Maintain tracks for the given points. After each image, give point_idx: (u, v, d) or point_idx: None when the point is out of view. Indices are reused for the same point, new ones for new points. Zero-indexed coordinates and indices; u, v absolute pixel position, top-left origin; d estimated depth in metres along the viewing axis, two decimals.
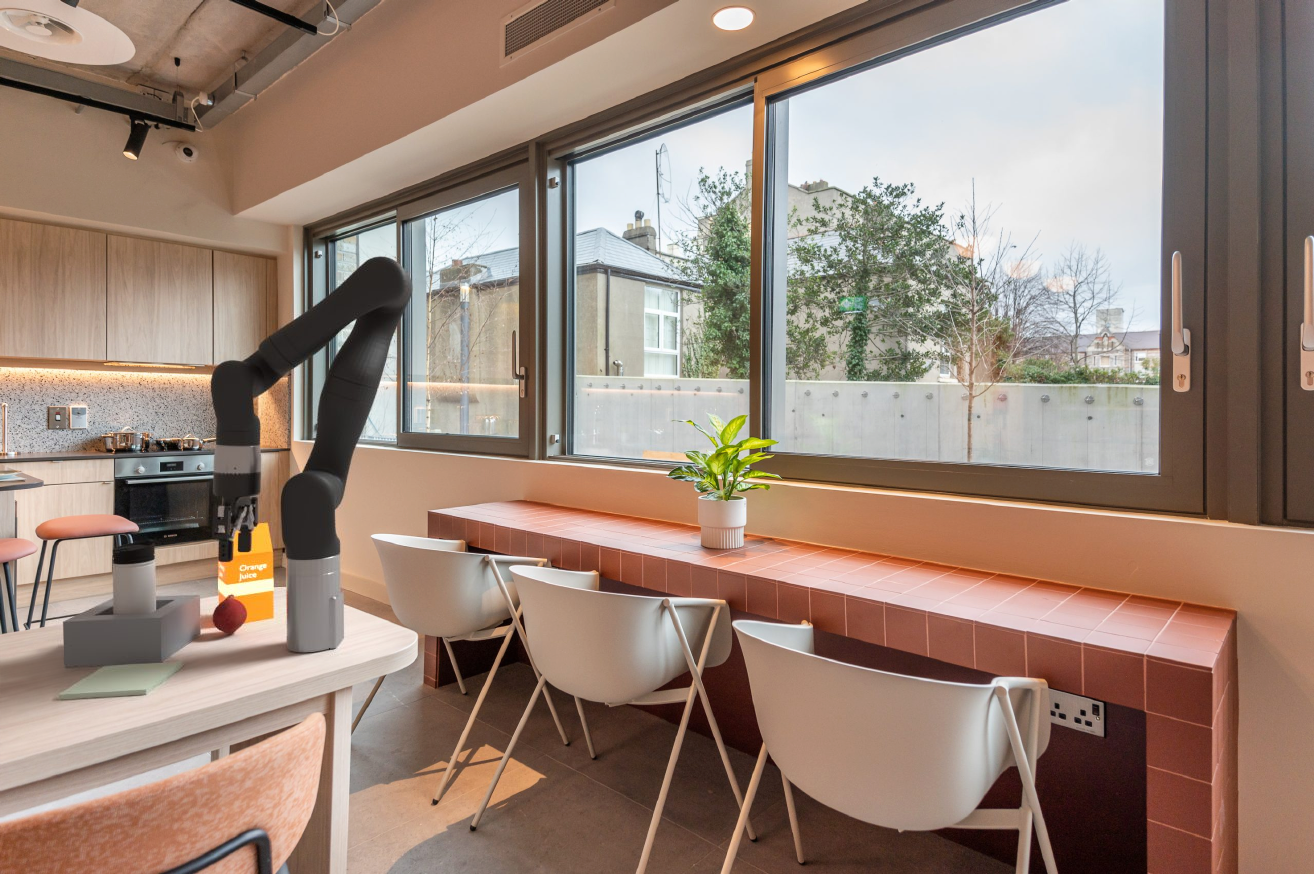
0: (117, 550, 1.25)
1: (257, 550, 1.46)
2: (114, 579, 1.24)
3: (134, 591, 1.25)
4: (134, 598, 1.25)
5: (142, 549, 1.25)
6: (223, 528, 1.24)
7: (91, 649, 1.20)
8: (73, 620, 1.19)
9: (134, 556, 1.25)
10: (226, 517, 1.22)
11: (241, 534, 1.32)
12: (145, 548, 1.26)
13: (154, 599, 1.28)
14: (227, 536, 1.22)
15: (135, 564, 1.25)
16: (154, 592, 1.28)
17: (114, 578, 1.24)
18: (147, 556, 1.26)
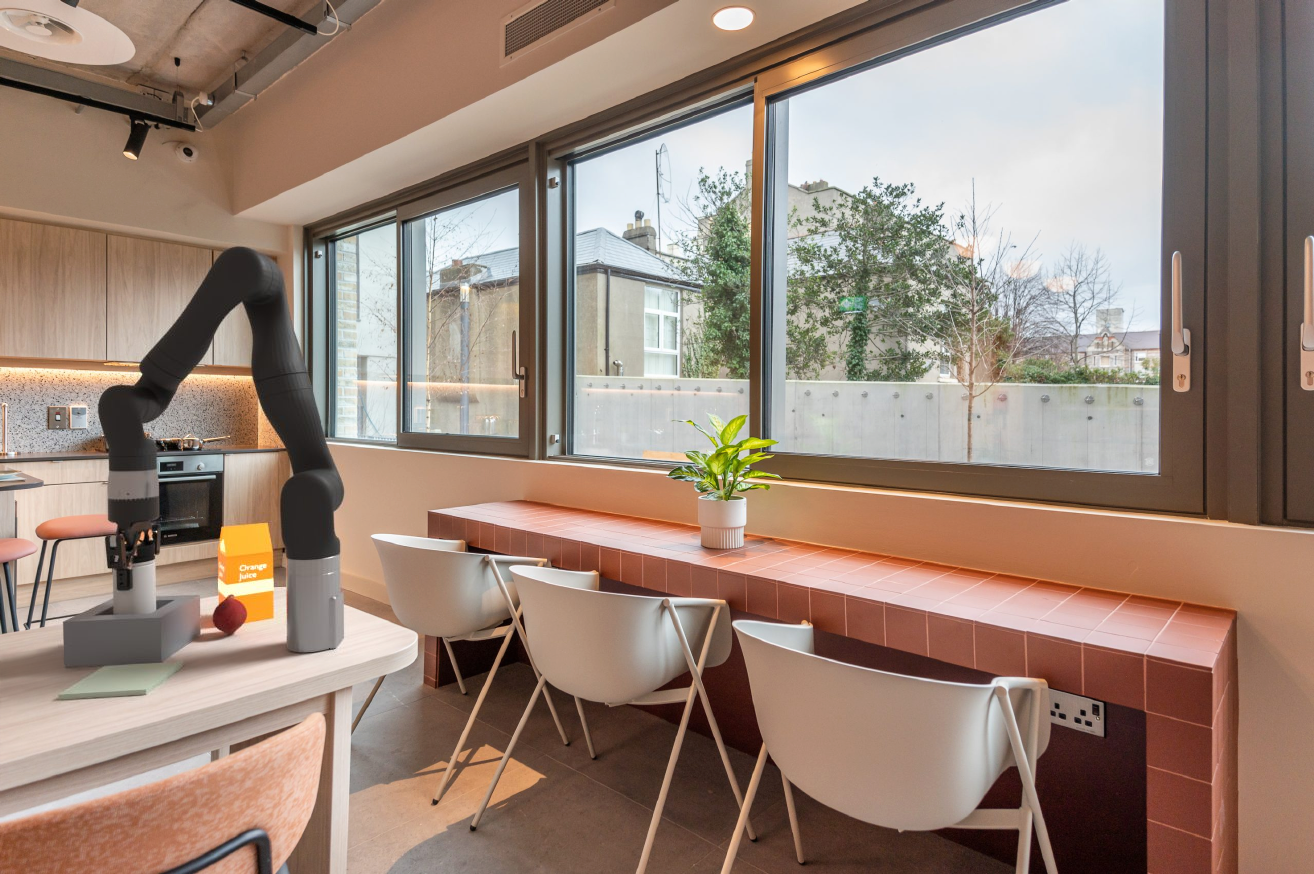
0: None
1: (257, 550, 1.46)
2: (114, 579, 1.24)
3: (134, 591, 1.25)
4: (134, 598, 1.25)
5: (142, 549, 1.25)
6: None
7: (91, 649, 1.20)
8: (73, 620, 1.19)
9: None
10: (119, 547, 1.21)
11: None
12: (145, 548, 1.26)
13: (154, 599, 1.28)
14: (123, 565, 1.21)
15: (135, 564, 1.25)
16: (154, 592, 1.28)
17: (114, 578, 1.24)
18: (147, 556, 1.26)
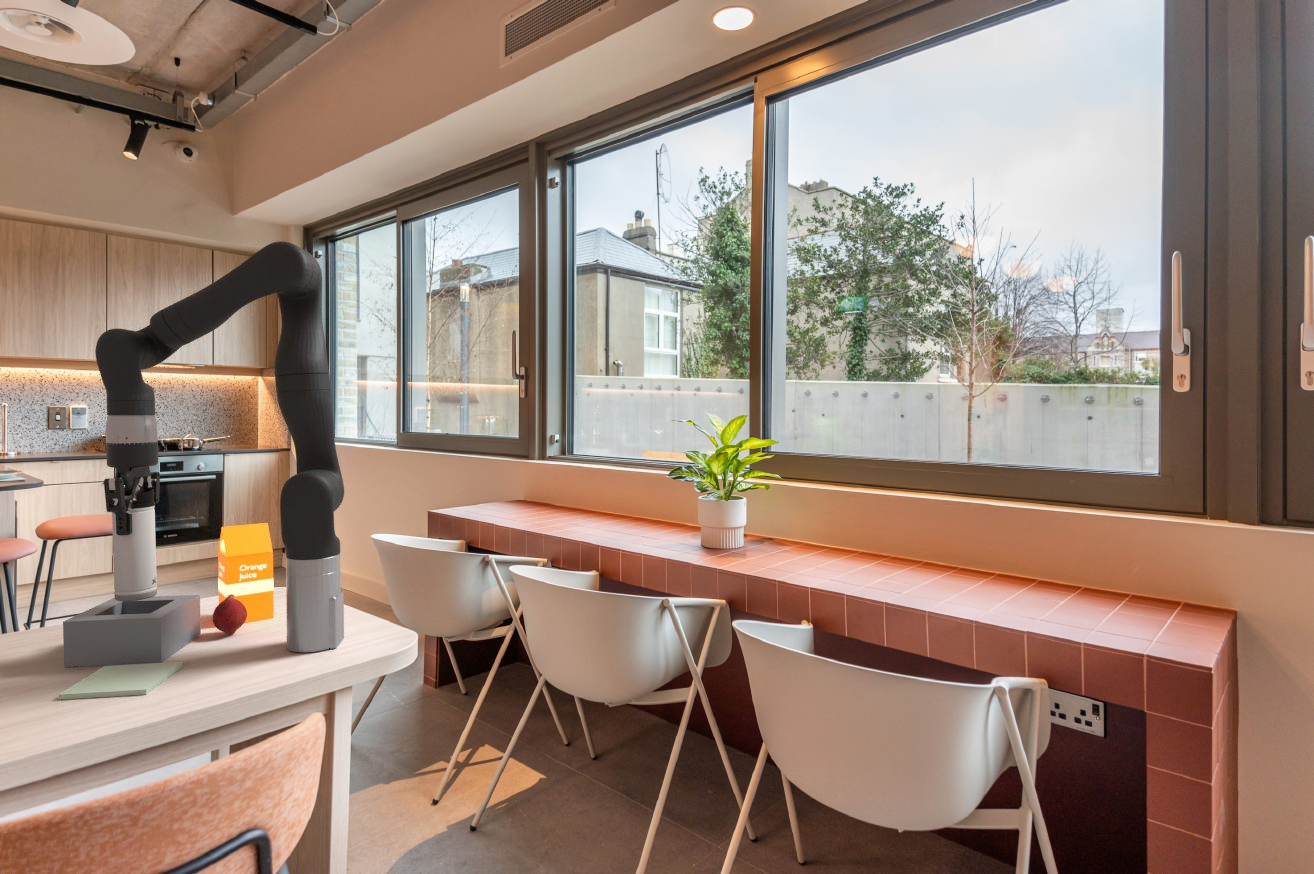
0: None
1: (257, 550, 1.46)
2: (113, 524, 1.24)
3: (133, 536, 1.24)
4: (133, 543, 1.24)
5: (141, 494, 1.25)
6: None
7: (91, 649, 1.20)
8: (73, 620, 1.19)
9: None
10: (118, 490, 1.20)
11: None
12: (144, 493, 1.26)
13: (154, 545, 1.28)
14: (122, 508, 1.21)
15: (134, 509, 1.24)
16: (154, 538, 1.28)
17: (113, 523, 1.24)
18: (146, 502, 1.26)
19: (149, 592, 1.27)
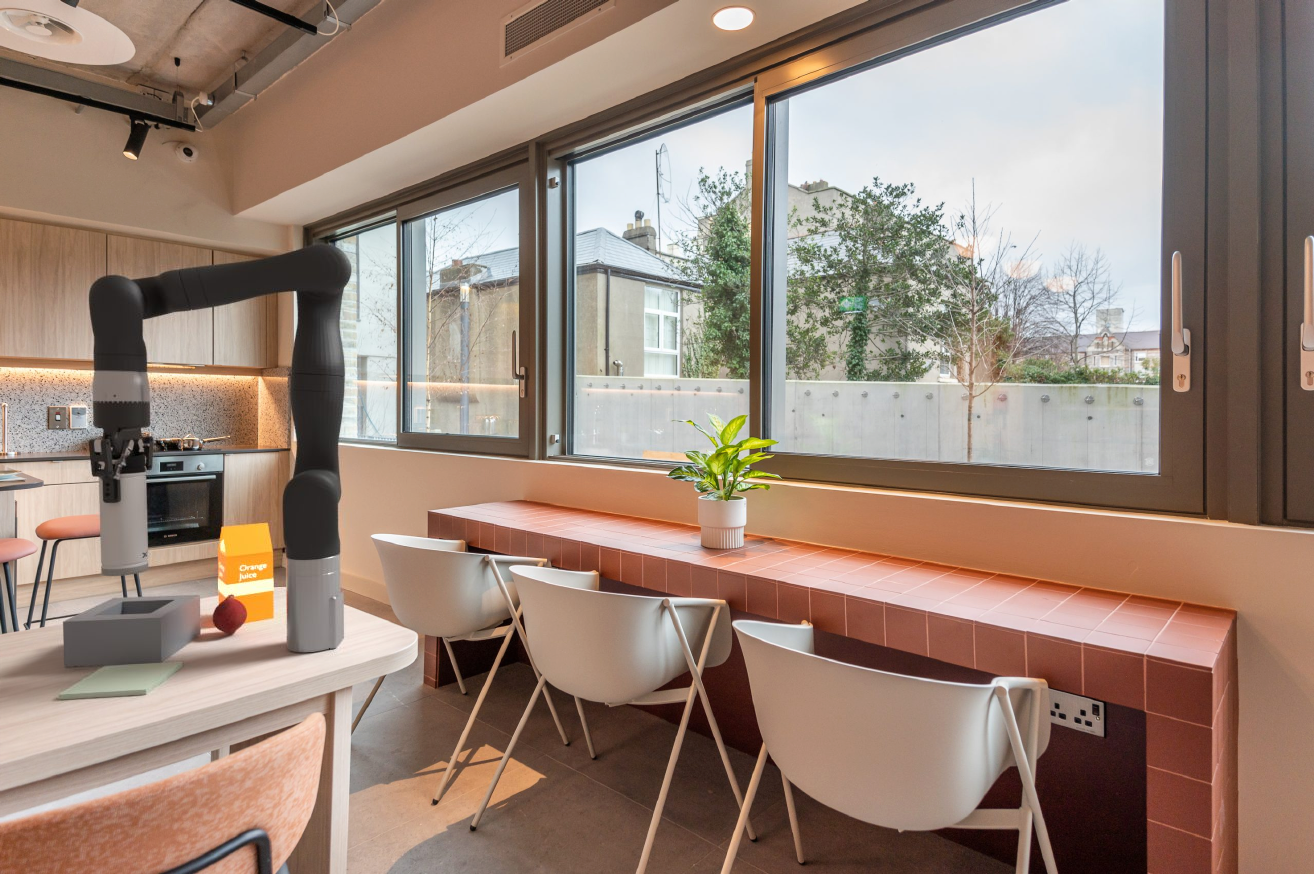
0: None
1: (257, 550, 1.46)
2: (100, 491, 1.13)
3: (122, 505, 1.13)
4: (122, 512, 1.13)
5: (131, 458, 1.14)
6: None
7: (91, 649, 1.20)
8: (73, 620, 1.19)
9: None
10: (105, 452, 1.09)
11: None
12: (134, 458, 1.14)
13: (145, 516, 1.16)
14: (109, 473, 1.09)
15: (123, 475, 1.13)
16: (145, 508, 1.16)
17: (100, 490, 1.13)
18: (136, 467, 1.14)
19: (139, 567, 1.15)
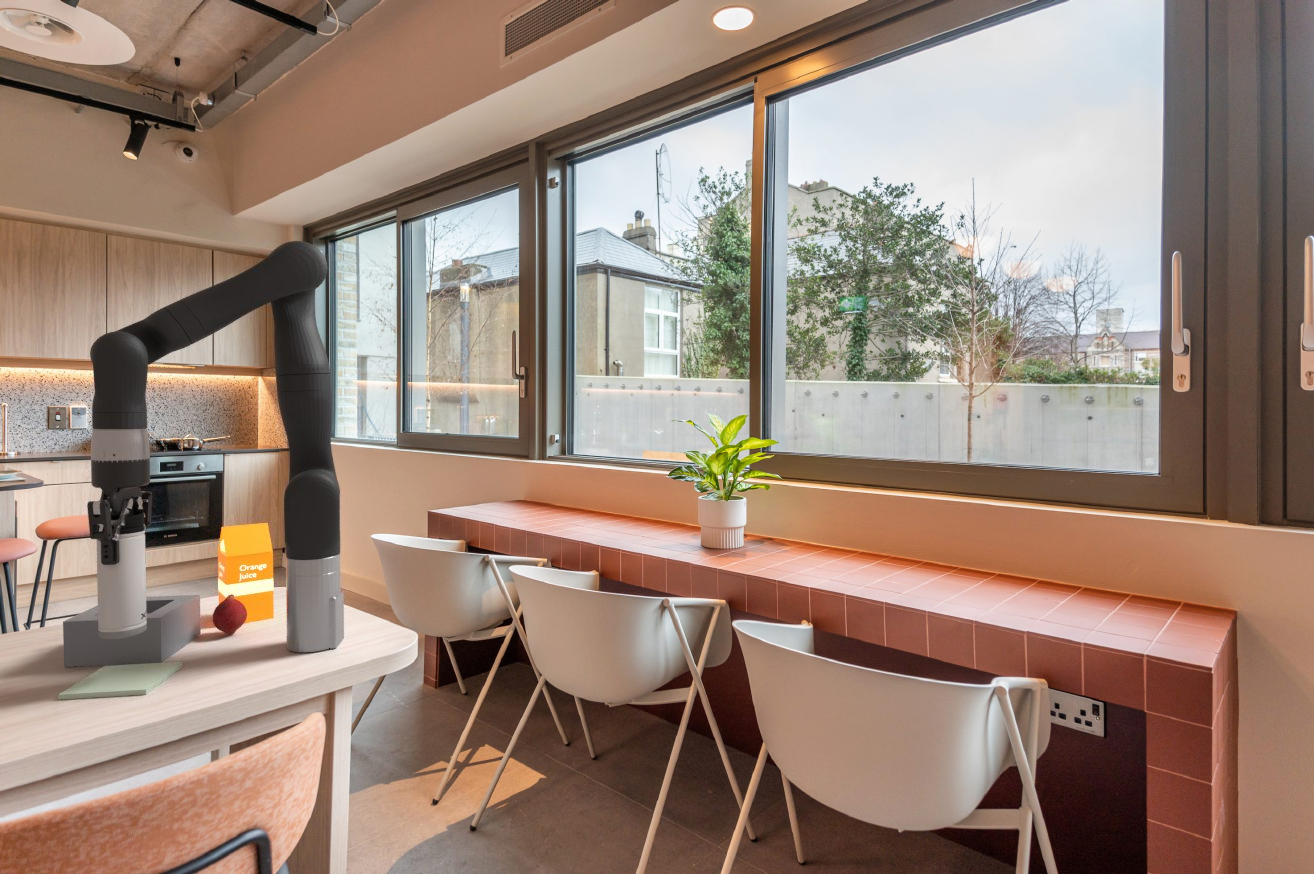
0: None
1: (257, 550, 1.46)
2: (98, 552, 1.10)
3: (120, 566, 1.10)
4: (120, 574, 1.10)
5: (130, 518, 1.11)
6: None
7: (91, 649, 1.20)
8: (73, 620, 1.19)
9: None
10: (104, 515, 1.06)
11: None
12: (133, 517, 1.11)
13: (144, 575, 1.13)
14: (108, 535, 1.07)
15: (122, 535, 1.10)
16: (144, 567, 1.13)
17: (98, 551, 1.10)
18: (135, 527, 1.12)
19: (137, 629, 1.12)
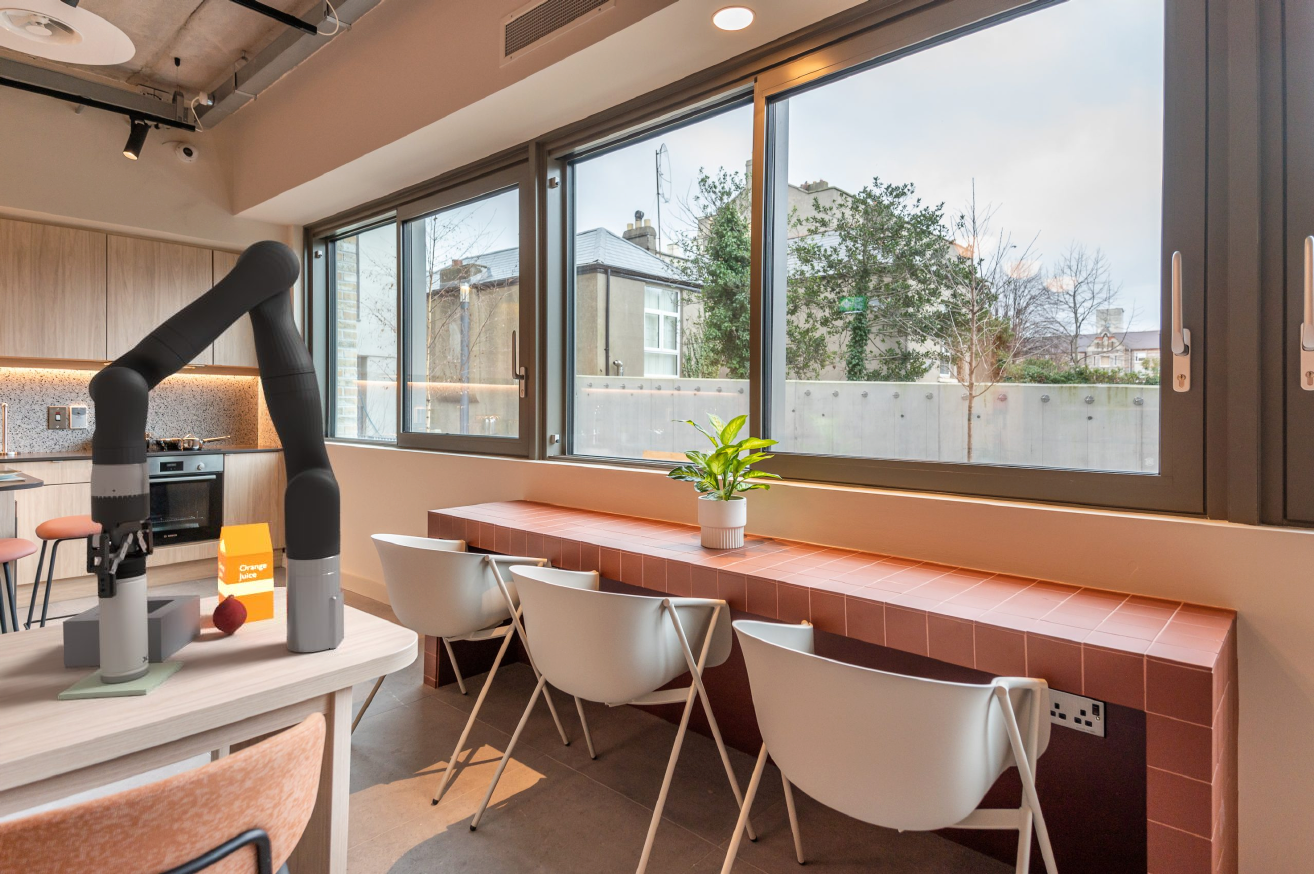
0: None
1: (257, 550, 1.46)
2: None
3: (122, 610, 1.10)
4: (122, 618, 1.11)
5: (132, 562, 1.11)
6: None
7: (91, 649, 1.20)
8: (73, 620, 1.19)
9: (122, 571, 1.10)
10: (102, 547, 1.06)
11: None
12: (135, 561, 1.12)
13: (145, 618, 1.14)
14: (105, 569, 1.06)
15: (124, 580, 1.10)
16: (145, 611, 1.14)
17: None
18: (137, 571, 1.12)
19: (139, 672, 1.13)
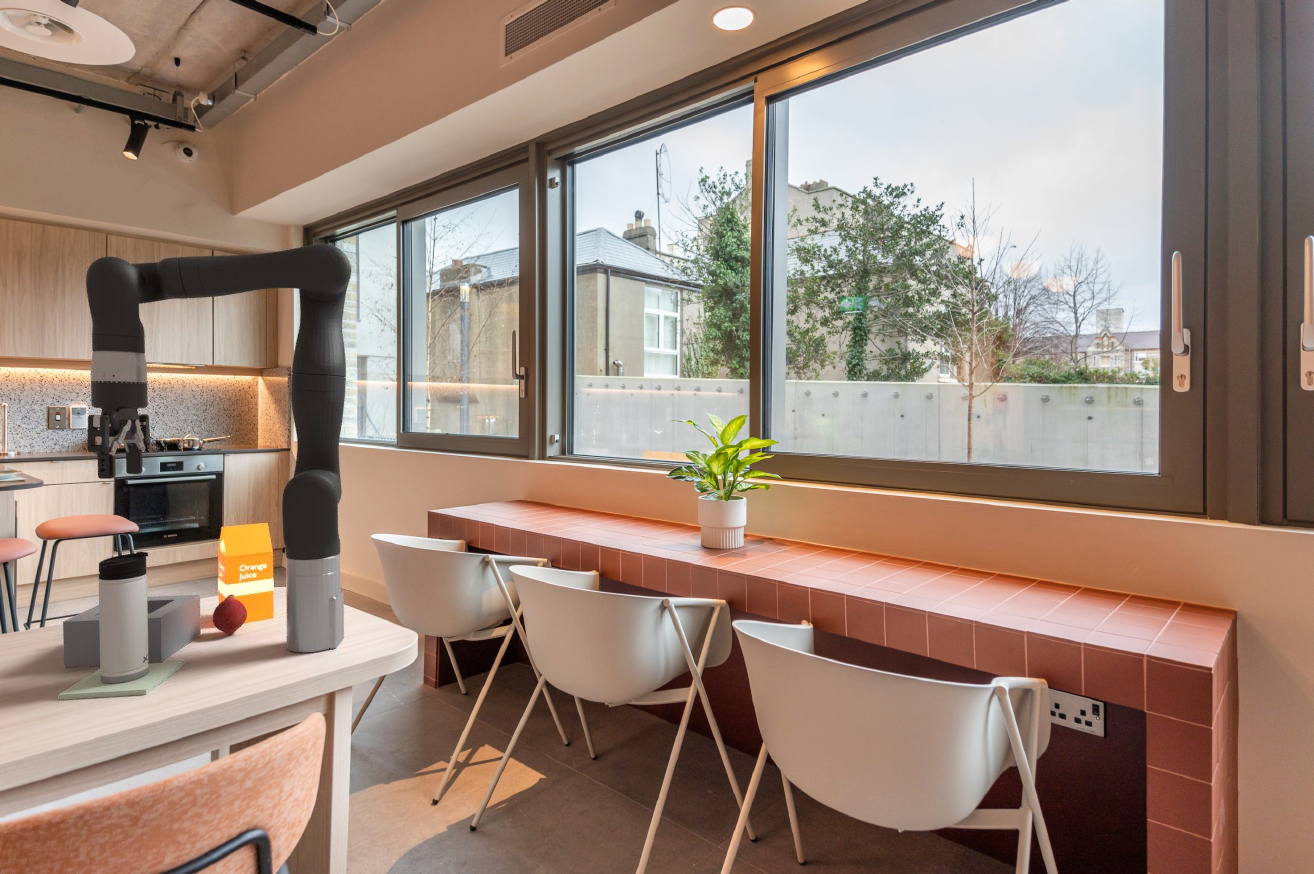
0: (104, 564, 1.11)
1: (257, 550, 1.46)
2: (100, 597, 1.10)
3: (122, 611, 1.10)
4: (122, 618, 1.10)
5: (132, 563, 1.11)
6: None
7: (91, 649, 1.20)
8: (73, 620, 1.19)
9: (123, 571, 1.10)
10: (103, 427, 1.10)
11: (130, 454, 1.21)
12: (135, 561, 1.12)
13: (146, 619, 1.14)
14: (105, 448, 1.10)
15: (124, 580, 1.10)
16: (146, 611, 1.14)
17: (100, 596, 1.10)
18: (137, 571, 1.12)
19: (139, 672, 1.13)
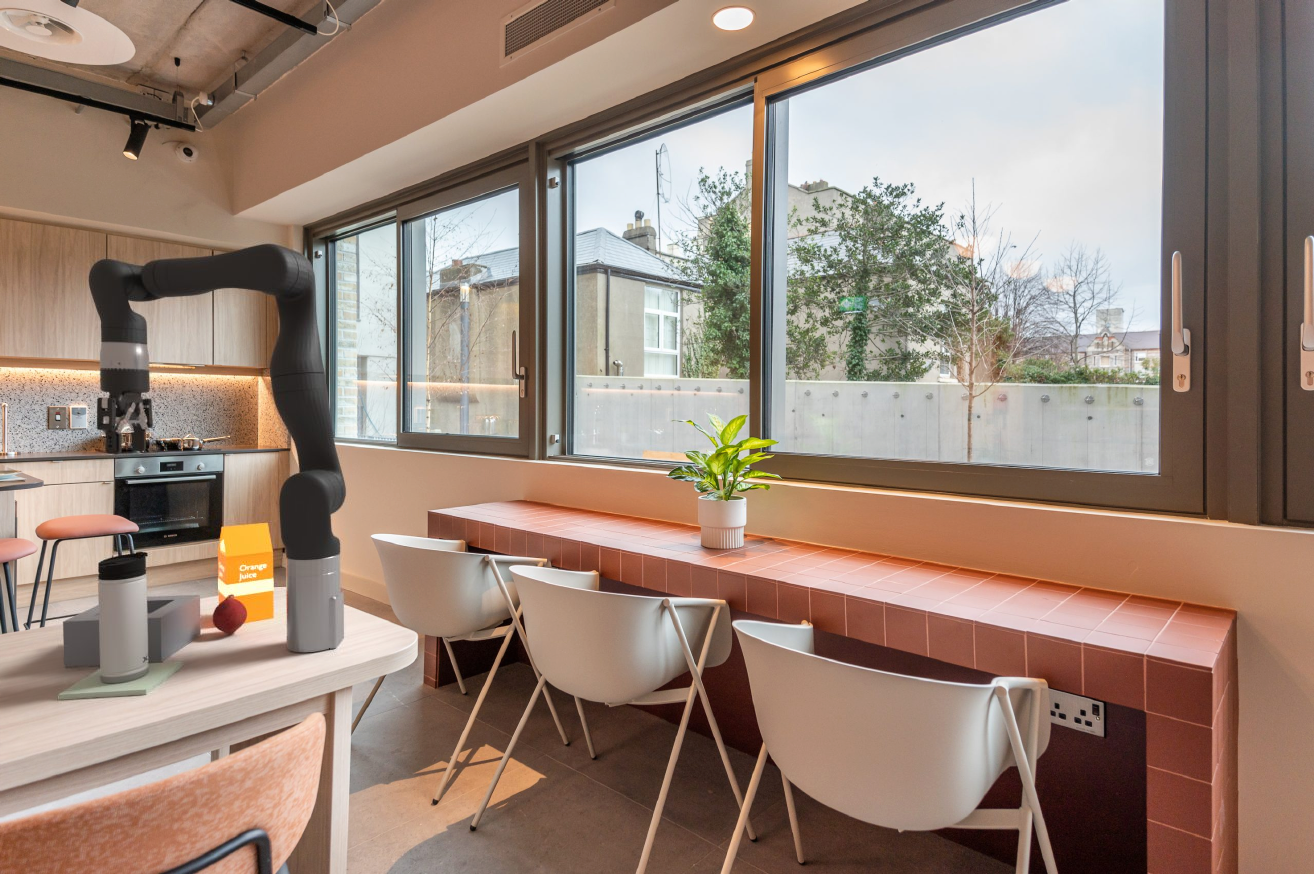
0: (103, 564, 1.11)
1: (257, 550, 1.46)
2: (100, 597, 1.10)
3: (122, 611, 1.10)
4: (122, 618, 1.10)
5: (132, 563, 1.11)
6: None
7: (91, 649, 1.20)
8: (73, 620, 1.19)
9: (122, 571, 1.10)
10: (110, 408, 1.26)
11: (134, 433, 1.37)
12: (135, 562, 1.12)
13: (145, 619, 1.14)
14: (112, 426, 1.26)
15: (124, 580, 1.10)
16: (145, 611, 1.14)
17: (100, 596, 1.10)
18: (137, 571, 1.12)
19: (139, 672, 1.13)
